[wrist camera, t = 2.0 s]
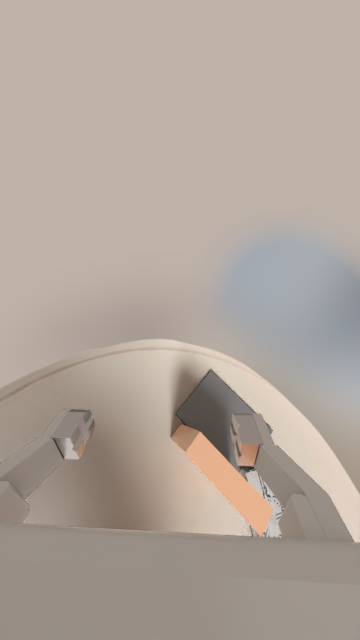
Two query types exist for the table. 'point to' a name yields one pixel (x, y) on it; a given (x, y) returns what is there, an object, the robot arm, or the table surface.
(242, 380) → the table surface
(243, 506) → the orange block
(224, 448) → the mat
